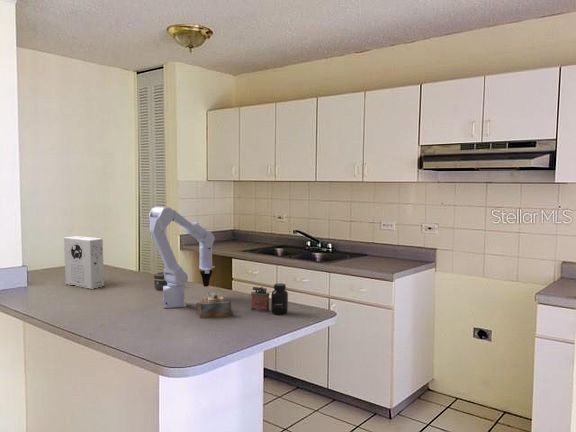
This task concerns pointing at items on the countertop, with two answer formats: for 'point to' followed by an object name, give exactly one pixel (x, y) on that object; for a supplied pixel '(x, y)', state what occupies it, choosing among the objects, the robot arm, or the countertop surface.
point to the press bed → (214, 309)
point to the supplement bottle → (279, 300)
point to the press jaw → (210, 296)
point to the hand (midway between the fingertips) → (206, 286)
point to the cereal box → (84, 261)
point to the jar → (159, 281)
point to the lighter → (260, 300)
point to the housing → (215, 299)
